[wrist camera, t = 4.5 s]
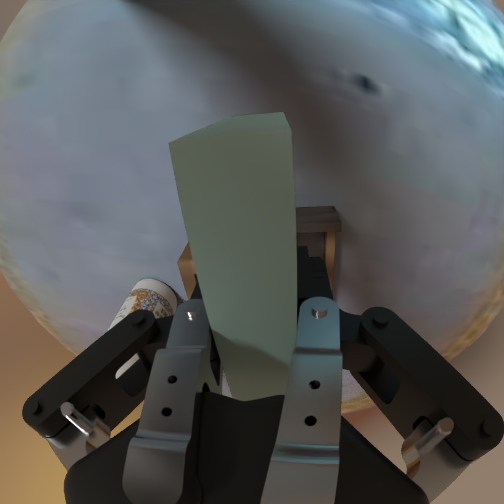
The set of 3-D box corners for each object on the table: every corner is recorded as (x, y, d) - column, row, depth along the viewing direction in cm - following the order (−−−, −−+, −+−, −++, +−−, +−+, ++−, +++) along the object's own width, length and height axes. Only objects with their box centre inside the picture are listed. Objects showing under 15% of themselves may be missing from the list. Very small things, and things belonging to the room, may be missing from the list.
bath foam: (155, 269, 36) (87, 394, 19) (187, 303, 39) (143, 430, 22) (126, 288, 38) (64, 397, 22) (157, 318, 41) (111, 429, 24)
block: (234, 116, 13) (168, 143, 5) (292, 111, 13) (314, 128, 5) (254, 289, 19) (237, 412, 11) (298, 287, 18) (304, 412, 10)
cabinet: (204, 212, 31) (177, 262, 22) (333, 206, 29) (355, 255, 21) (224, 308, 38) (211, 366, 30) (327, 305, 37) (337, 364, 28)
